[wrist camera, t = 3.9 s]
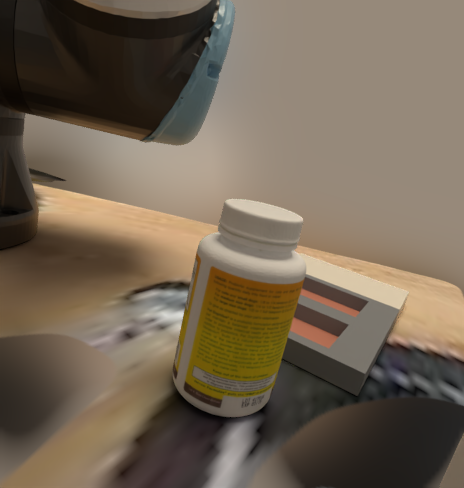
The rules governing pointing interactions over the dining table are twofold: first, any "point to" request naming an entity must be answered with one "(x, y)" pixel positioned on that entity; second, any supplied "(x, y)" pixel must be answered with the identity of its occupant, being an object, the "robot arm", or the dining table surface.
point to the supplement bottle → (239, 309)
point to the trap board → (341, 323)
